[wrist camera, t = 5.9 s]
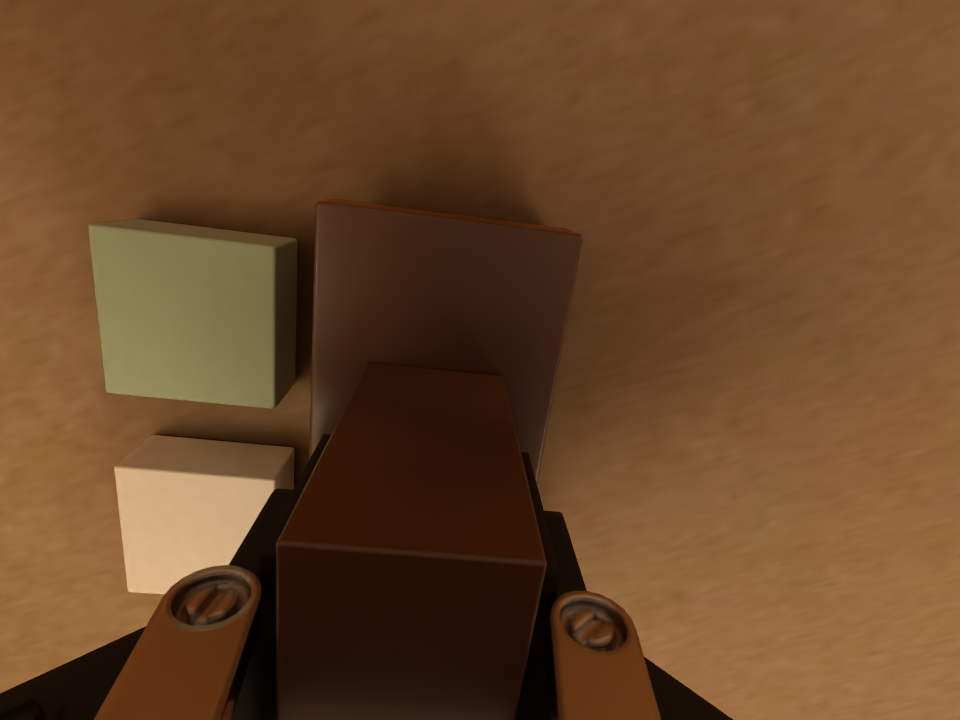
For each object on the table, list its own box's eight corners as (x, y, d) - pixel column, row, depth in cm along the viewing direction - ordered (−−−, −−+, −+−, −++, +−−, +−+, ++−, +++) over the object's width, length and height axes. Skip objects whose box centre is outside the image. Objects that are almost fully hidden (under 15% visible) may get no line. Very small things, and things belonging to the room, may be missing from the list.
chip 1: (146, 368, 14) (104, 393, 12) (134, 218, 13) (86, 223, 11) (296, 383, 15) (275, 410, 13) (298, 238, 13) (275, 246, 12)
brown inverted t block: (329, 592, 17) (197, 1009, 8) (345, 196, 13) (131, 223, 4) (493, 604, 17) (527, 1011, 9) (557, 223, 13) (730, 295, 5)
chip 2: (161, 549, 16) (126, 592, 14) (152, 433, 15) (112, 466, 13) (293, 558, 16) (274, 602, 15) (295, 447, 15) (275, 479, 13)
